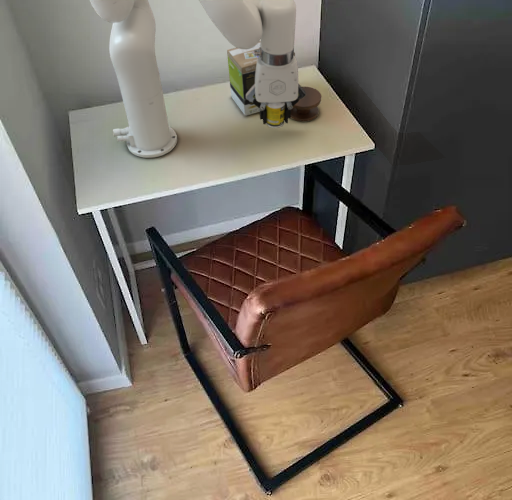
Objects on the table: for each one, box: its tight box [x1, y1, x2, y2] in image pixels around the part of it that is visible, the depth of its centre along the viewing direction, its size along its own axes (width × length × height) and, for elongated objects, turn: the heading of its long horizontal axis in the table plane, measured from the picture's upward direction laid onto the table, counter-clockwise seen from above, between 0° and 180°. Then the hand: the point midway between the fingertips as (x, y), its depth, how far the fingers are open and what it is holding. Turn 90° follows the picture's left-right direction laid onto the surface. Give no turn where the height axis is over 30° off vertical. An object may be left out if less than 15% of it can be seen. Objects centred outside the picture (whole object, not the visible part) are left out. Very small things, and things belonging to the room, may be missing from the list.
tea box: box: [226, 40, 296, 117], centre depth 151 cm, size 15×10×15 cm
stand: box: [290, 85, 322, 123], centre depth 151 cm, size 9×9×5 cm
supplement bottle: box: [265, 102, 285, 129], centre depth 141 cm, size 5×5×8 cm
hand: (275, 119), depth 144 cm, fingers closed on supplement bottle, 4 cm apart
